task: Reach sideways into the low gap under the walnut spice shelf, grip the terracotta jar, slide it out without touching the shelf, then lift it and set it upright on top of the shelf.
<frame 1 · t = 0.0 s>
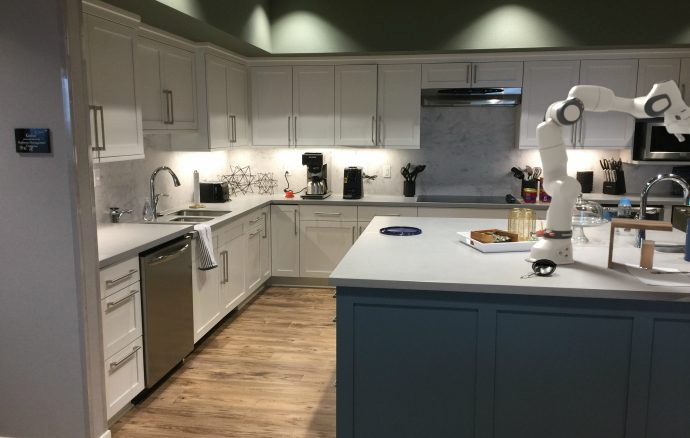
hand: (688, 141, 255), 54 cm above the countertop, tool tilted 30°, fingers open, 8 cm apart
jar: (645, 268, 247), on the countertop
shelf: (645, 268, 247), on the countertop
cupcake: (543, 243, 301), on the countertop
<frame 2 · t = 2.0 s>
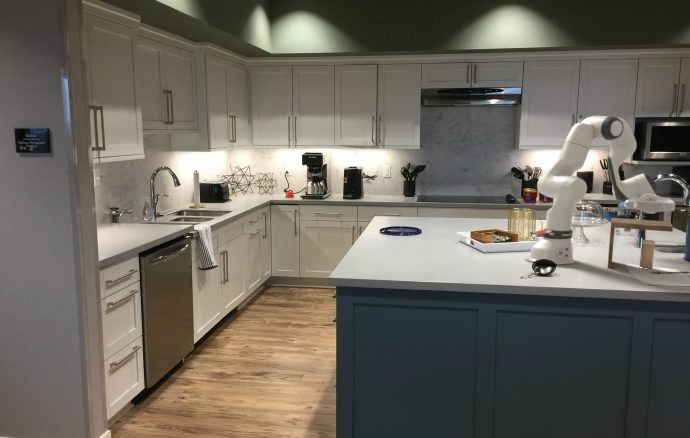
hand: (650, 207, 255), 25 cm above the countertop, tool horizontal, fingers open, 8 cm apart
nothing on the countertop moved.
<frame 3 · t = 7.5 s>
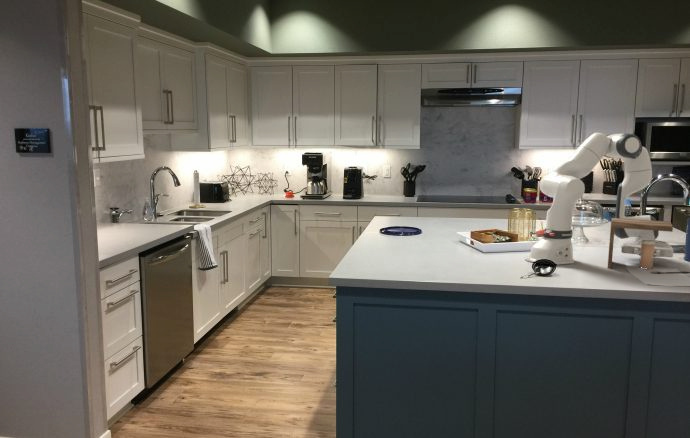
hand: (647, 253, 245), 7 cm above the countertop, tool horizontal, fingers closed on jar, 5 cm apart
jar: (645, 268, 247), on the countertop, touching gripper
everything else where it was.
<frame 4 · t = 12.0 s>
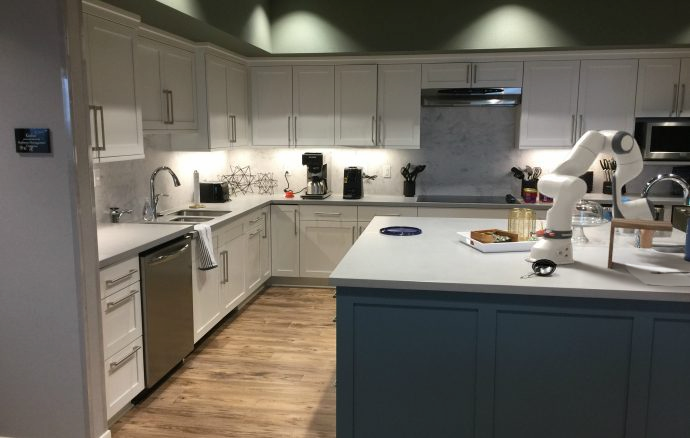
hand: (647, 233, 256), 13 cm above the countertop, tool horizontal, fingers closed on jar, 5 cm apart
jar: (645, 247, 258), point 7 cm above the countertop, touching gripper
everything else where it was.
when the fingers open (28 cm above the countertop, at t = 16.6 s): jar drops 1 cm, resting on shelf.
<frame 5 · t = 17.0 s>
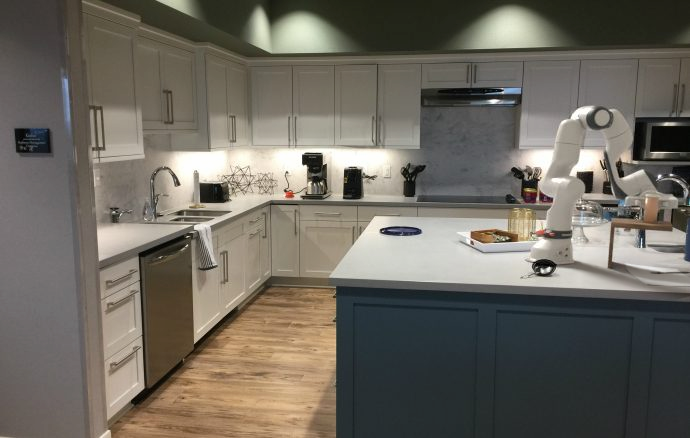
hand: (651, 204, 242), 28 cm above the countertop, tool horizontal, fingers open, 8 cm apart
jar: (649, 222, 244), point 20 cm above the countertop, touching shelf
everything else where it was.
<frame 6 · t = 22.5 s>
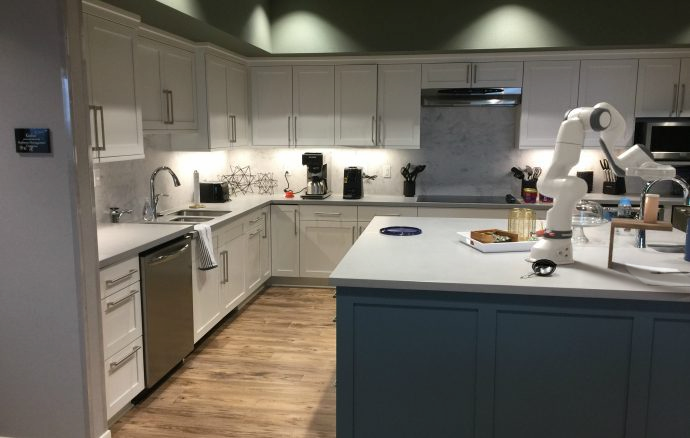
hand: (650, 173, 255), 40 cm above the countertop, tool horizontal, fingers open, 8 cm apart
nothing on the countertop moved.
at the end: jar inside the target area (0.1 cm from its centre), point 20.1 cm above the countertop; jar tilted 2°; the gripper is holding nothing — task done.
